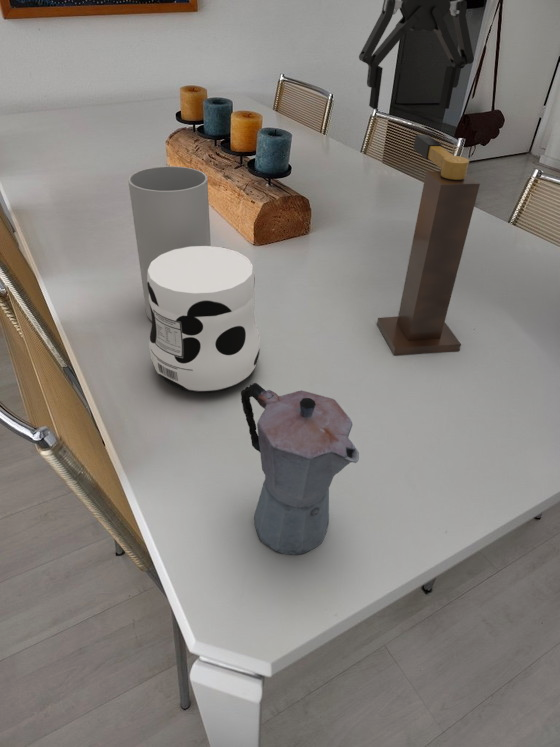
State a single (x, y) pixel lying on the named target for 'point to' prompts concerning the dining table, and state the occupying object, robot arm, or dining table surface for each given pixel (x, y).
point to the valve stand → (432, 268)
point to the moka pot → (297, 464)
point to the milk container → (203, 318)
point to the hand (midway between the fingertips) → (408, 107)
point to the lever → (441, 157)
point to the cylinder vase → (168, 213)
